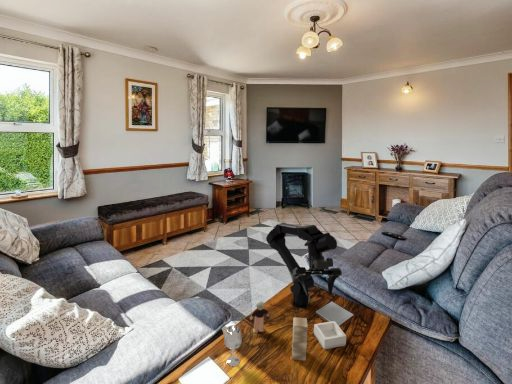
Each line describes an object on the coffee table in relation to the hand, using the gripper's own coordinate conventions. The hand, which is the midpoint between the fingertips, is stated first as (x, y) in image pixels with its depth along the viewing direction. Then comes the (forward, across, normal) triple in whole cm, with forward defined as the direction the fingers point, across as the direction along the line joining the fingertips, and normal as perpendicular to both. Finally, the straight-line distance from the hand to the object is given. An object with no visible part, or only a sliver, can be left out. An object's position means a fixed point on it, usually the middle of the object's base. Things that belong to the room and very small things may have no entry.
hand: (318, 295), depth 111 cm
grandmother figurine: (+12, -22, +10) cm, 27 cm away
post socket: (+15, +4, +3) cm, 16 cm away
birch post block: (+20, -10, -2) cm, 22 cm away
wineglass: (+22, -33, -1) cm, 39 cm away
